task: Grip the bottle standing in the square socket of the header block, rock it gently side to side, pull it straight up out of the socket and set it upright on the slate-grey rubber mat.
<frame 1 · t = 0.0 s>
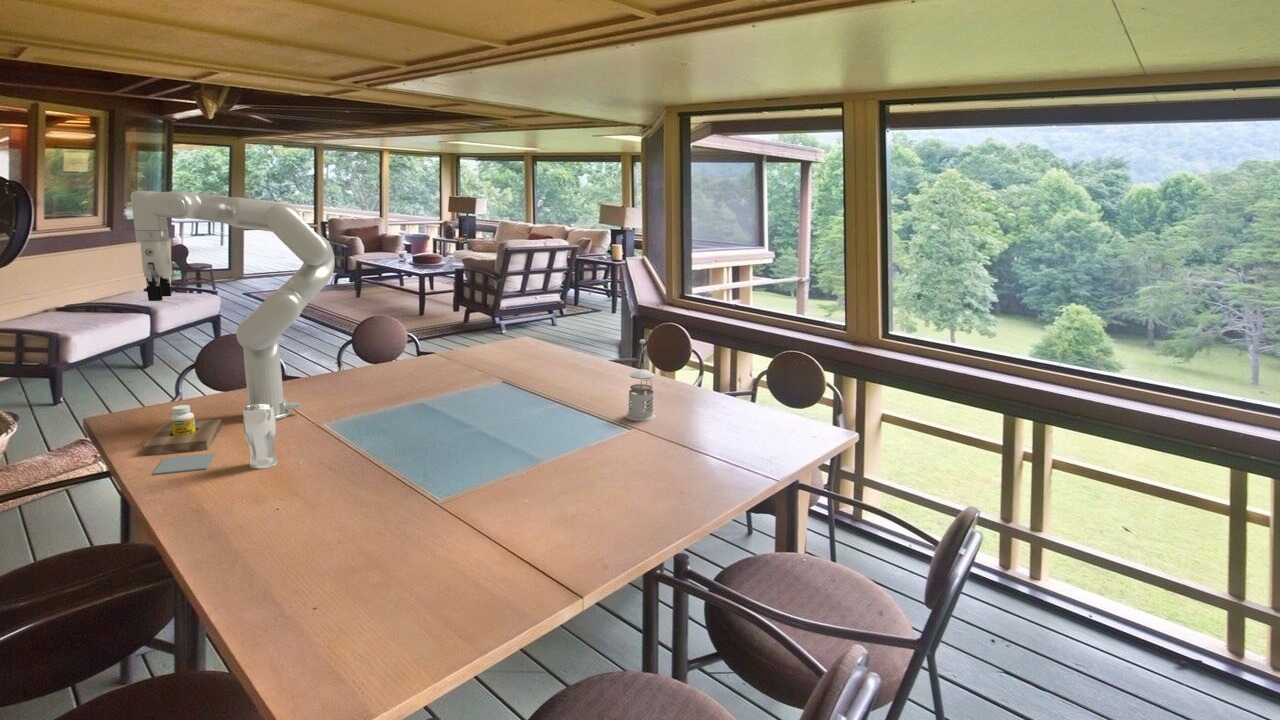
hand: (160, 298, 195), 37 cm above the table, tool pointing down, fingers open, 9 cm apart
french press: (641, 416, 222), on the table
rubber mat: (185, 464, 172), on the table
header block: (185, 440, 189), on the table
supplement bottle: (185, 441, 189), resting in header block
beer glass: (263, 465, 173), on the table
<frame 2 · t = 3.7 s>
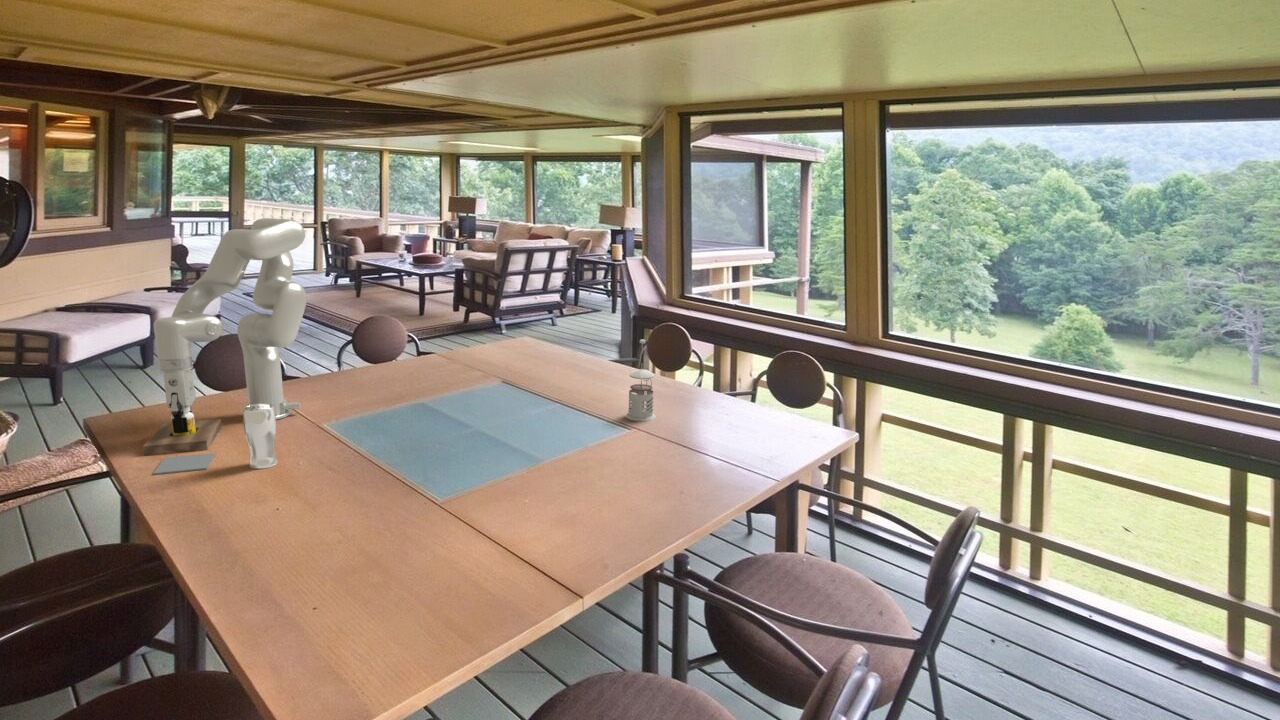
hand: (183, 428, 188), 3 cm above the table, tool pointing down, fingers closed on supplement bottle, 5 cm apart
supplement bottle: (185, 441, 189), resting in header block, touching gripper
everything else where it was.
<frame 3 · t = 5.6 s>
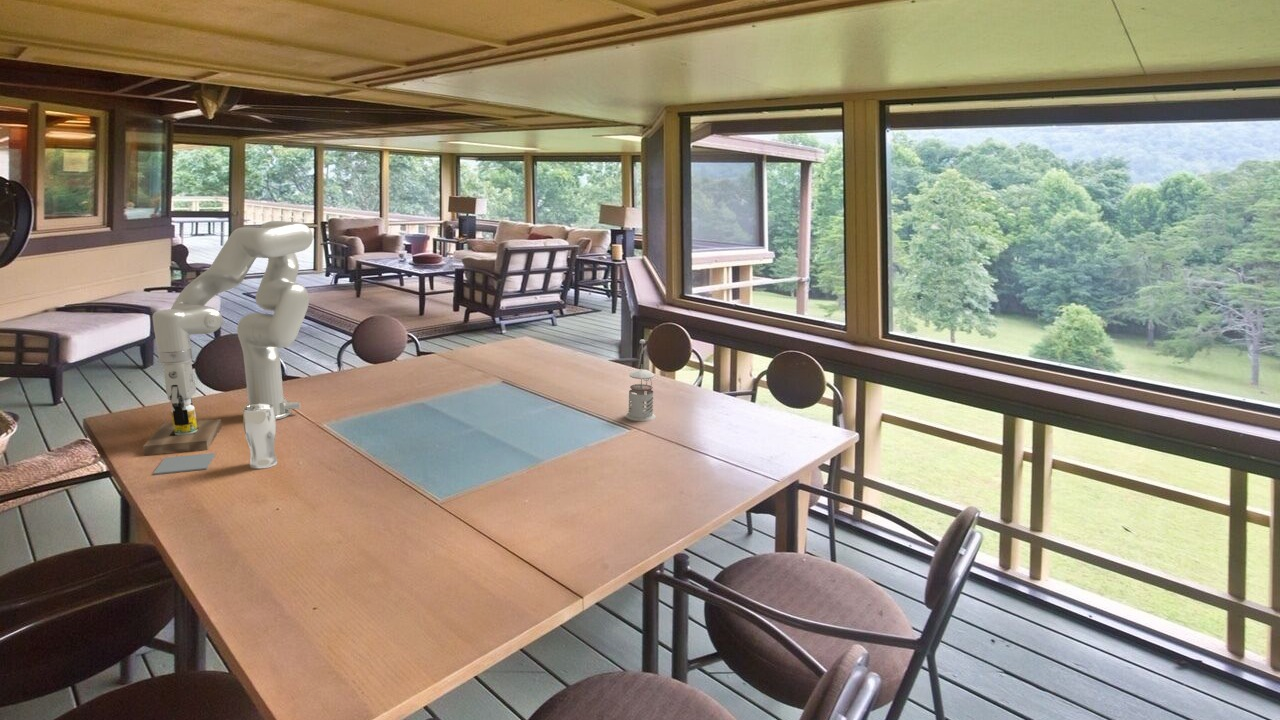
hand: (184, 420, 188), 6 cm above the table, tool pointing down, fingers closed on supplement bottle, 5 cm apart
supplement bottle: (186, 433, 189), point 2 cm above the table, touching gripper
everything else where it was.
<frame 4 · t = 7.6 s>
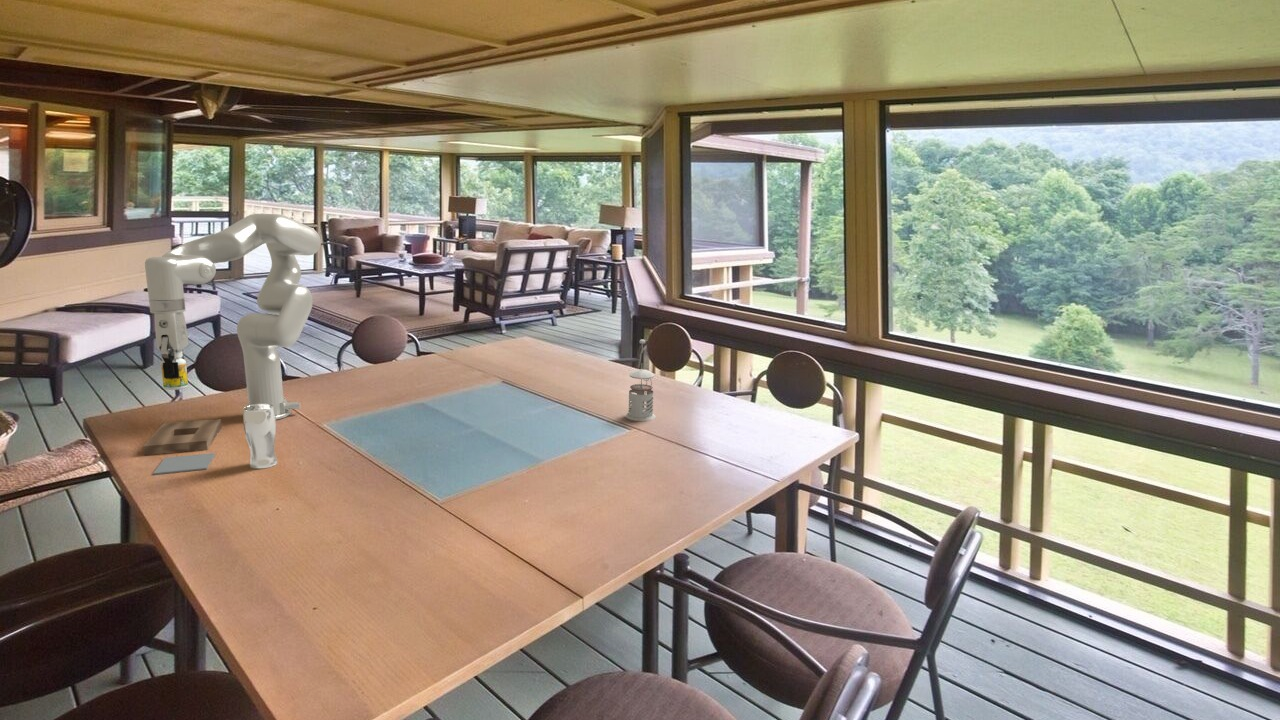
hand: (175, 374, 180), 20 cm above the table, tool pointing down, fingers closed on supplement bottle, 5 cm apart
supplement bottle: (175, 388, 181), point 16 cm above the table, touching gripper
everything else where it was.
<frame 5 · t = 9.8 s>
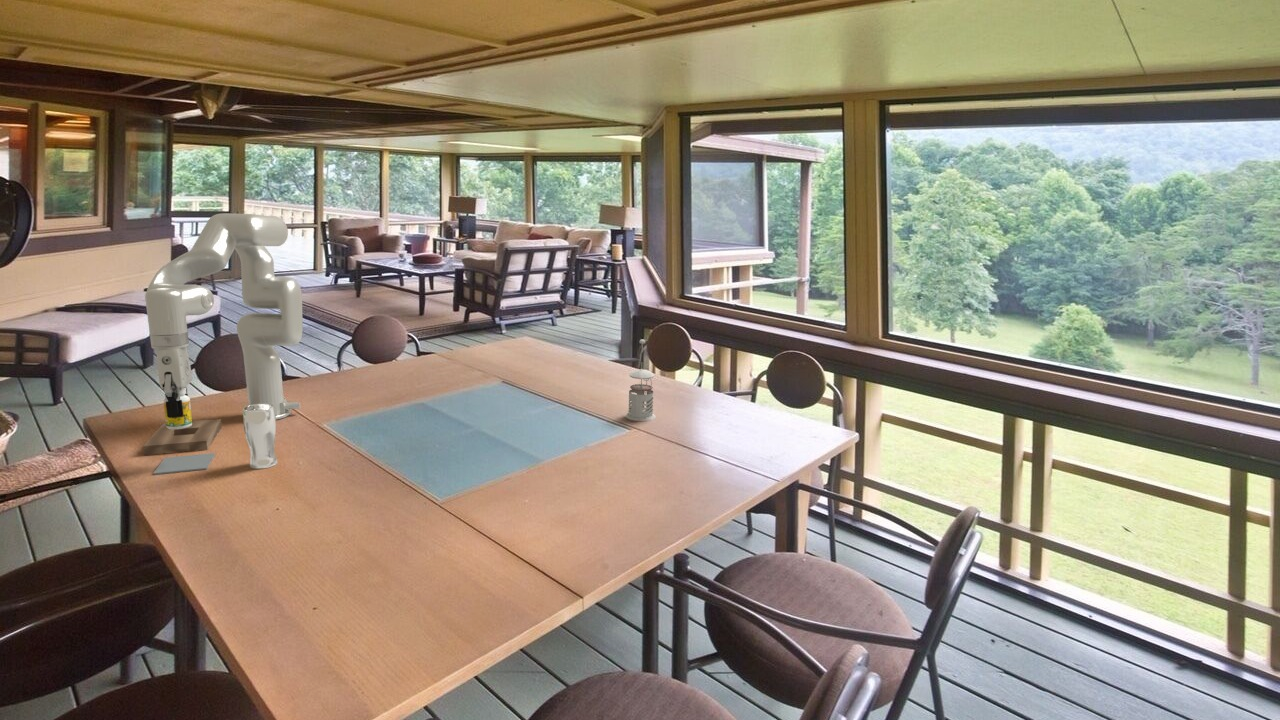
hand: (178, 412, 169), 13 cm above the table, tool pointing down, fingers closed on supplement bottle, 5 cm apart
supplement bottle: (179, 427, 170), point 10 cm above the table, touching gripper
everything else where it was.
when the fingers open (5 cm above the table, at t = 11.7 s): supplement bottle stays where it is, resting on rubber mat.
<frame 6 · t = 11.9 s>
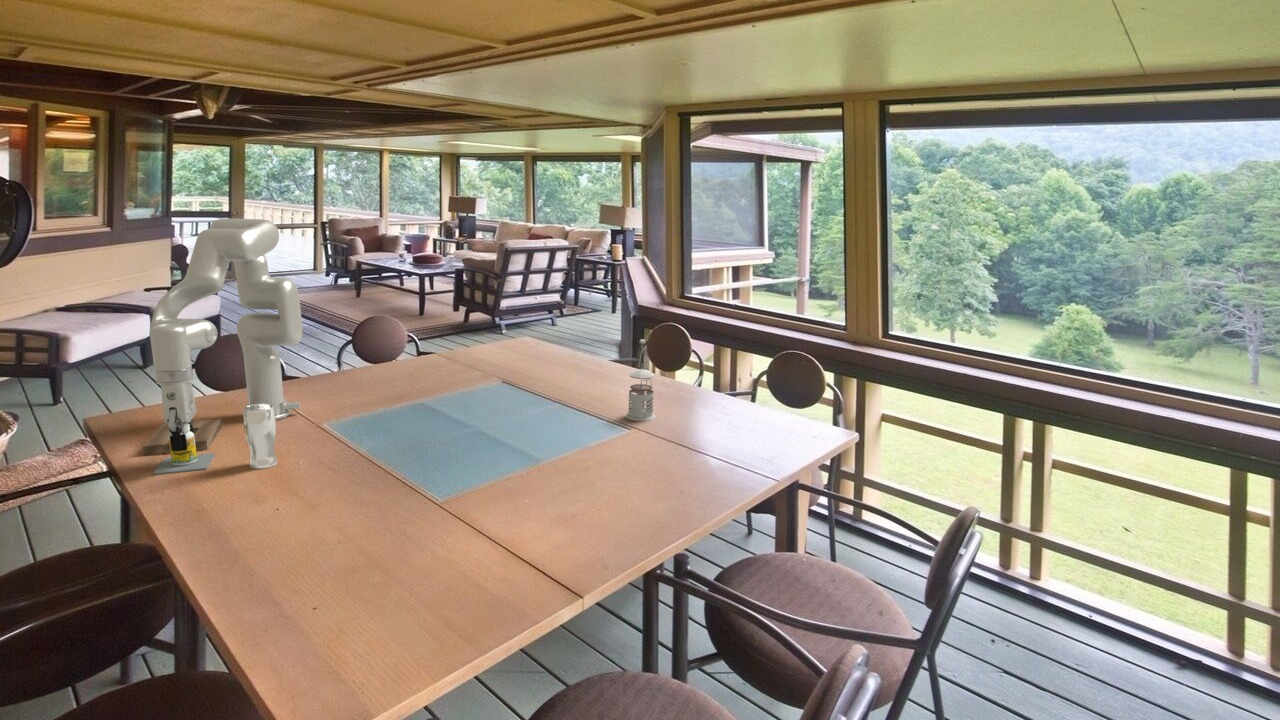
hand: (183, 444, 171), 5 cm above the table, tool pointing down, fingers open, 6 cm apart
supplement bottle: (184, 463, 173), resting on rubber mat
everything else where it was.
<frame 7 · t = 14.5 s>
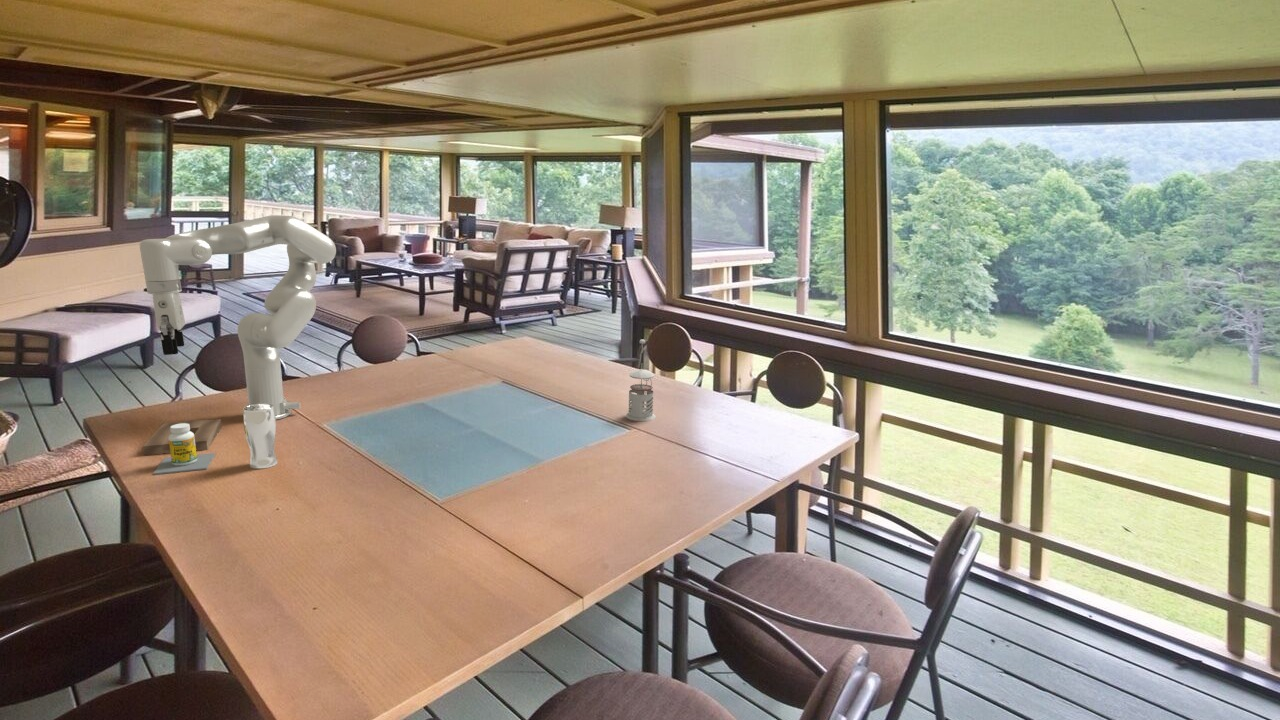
hand: (174, 350, 186), 25 cm above the table, tool pointing down, fingers open, 9 cm apart
nothing on the table moved.
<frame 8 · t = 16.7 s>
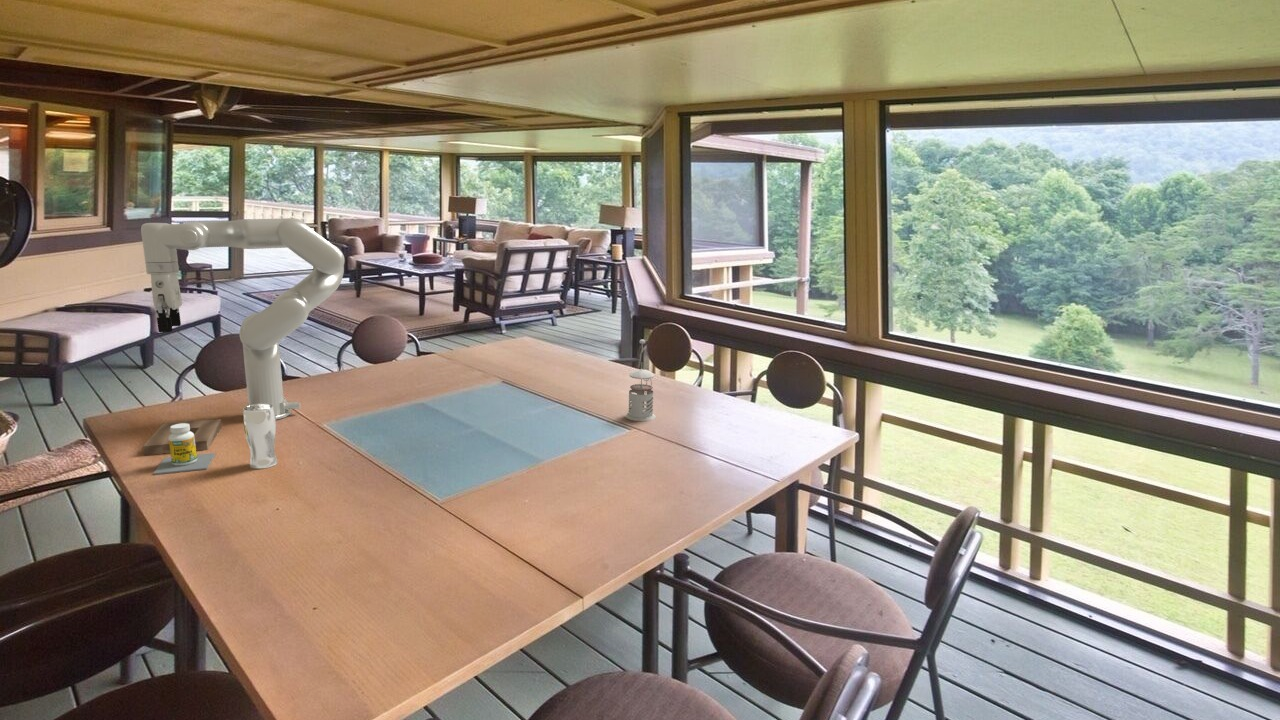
hand: (170, 328, 196), 28 cm above the table, tool pointing down, fingers open, 9 cm apart
nothing on the table moved.
at the end: supplement bottle inside the target area on the rubber mat (0.4 cm from its centre), point 0.2 cm above the rubber mat's base; supplement bottle tilted 0°; the gripper is holding nothing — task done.
